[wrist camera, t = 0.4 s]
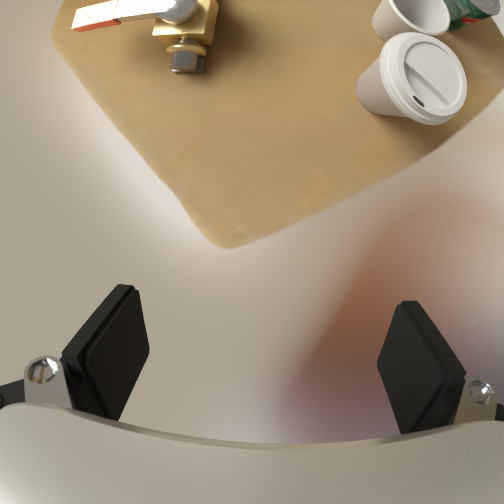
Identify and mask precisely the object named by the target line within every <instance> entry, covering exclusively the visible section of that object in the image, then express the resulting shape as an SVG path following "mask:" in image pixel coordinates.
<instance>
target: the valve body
mask: <svg viewBox="0 0 504 504" xmlns="http://www.w3.org/2000/svg"><path fill="white" fill-rule="evenodd" d="M198 3H199V7H198V10H197V12H196V14H195V15H194V16H193V17H192V18H190V19H189V20H187V21H185V22H183V23H180V24H169V23H166V22H165V21H163V20H162V19H161V18H156V22H155V26H154V31H153V36H154V37H156V38H157V39H158V40H160V41H161V42H162V43H163V44H165V45H168V46H167V49H166V54H168V55H170V56H172V61H171V67H170V68H171V69H172V72H174V73H203V72H204V66H205V58H202V57H204V56H206V51H207V49H206V48H205V47H204V46H201V45H212V40H213V35H214V29H215V24H216V19H217V14H218V9H219V6H218V3H217V0H198Z"/></svg>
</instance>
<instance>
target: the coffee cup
mask: <svg viewBox="0 0 504 504" xmlns="http://www.w3.org/2000/svg"><path fill="white" fill-rule="evenodd" d="M356 93H357V96H358V99H359V101H360V102H361V104H362V105H363V106H364V107H365V108H366V109H367V110H369V111H370V112H372V113H375V114H379V115H391V116H401V117H409V118H411V119H413V120H415V121H417V122H419V123H422V124H426V125H438V124H442V123H445V122H447V121H448V120H450V119H452V118H453V117H454V116H455V115H456V114H457V113H458V111H459V110H460V108H461V107H462V105H463V104H464V102H465V99H466V95H467V80H466V75H465V72H464V69H463V67H462V65H461V63H460V61H459V59H458V58H457V56H456V55H455V54H454V52H453V51H452V50H451V49H450V48H449V47H448V46H447V45H446V44H444V43H443V42H441V41H440V40H438V39H436V38H434V37H431V36H428V35H425V34H421V33H416V32H407V33H401V34H398V35H395V36H393V37H392V38H391V39H389V40H388V41H387V43H386V44H385V45H384V47H383V49H382V52H381V55H380V56H379V57H378V58H377V59H376V60H375V61H374V62H373V63H372V64H371V65H370V66H369V67H368V68H367V69H366V70H365V71H364V72H363V73H362V74H361V75H360V77H359V78H358V80H357V83H356Z"/></svg>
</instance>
